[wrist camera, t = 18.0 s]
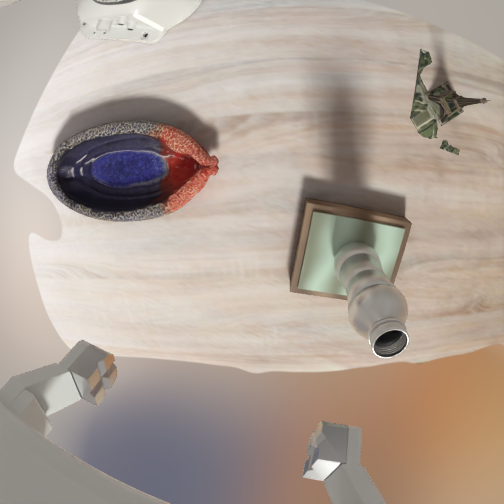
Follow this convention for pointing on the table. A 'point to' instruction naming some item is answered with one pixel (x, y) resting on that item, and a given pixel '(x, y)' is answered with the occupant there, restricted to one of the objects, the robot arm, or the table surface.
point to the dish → (129, 171)
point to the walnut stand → (336, 236)
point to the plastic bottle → (372, 299)
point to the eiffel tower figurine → (436, 105)
